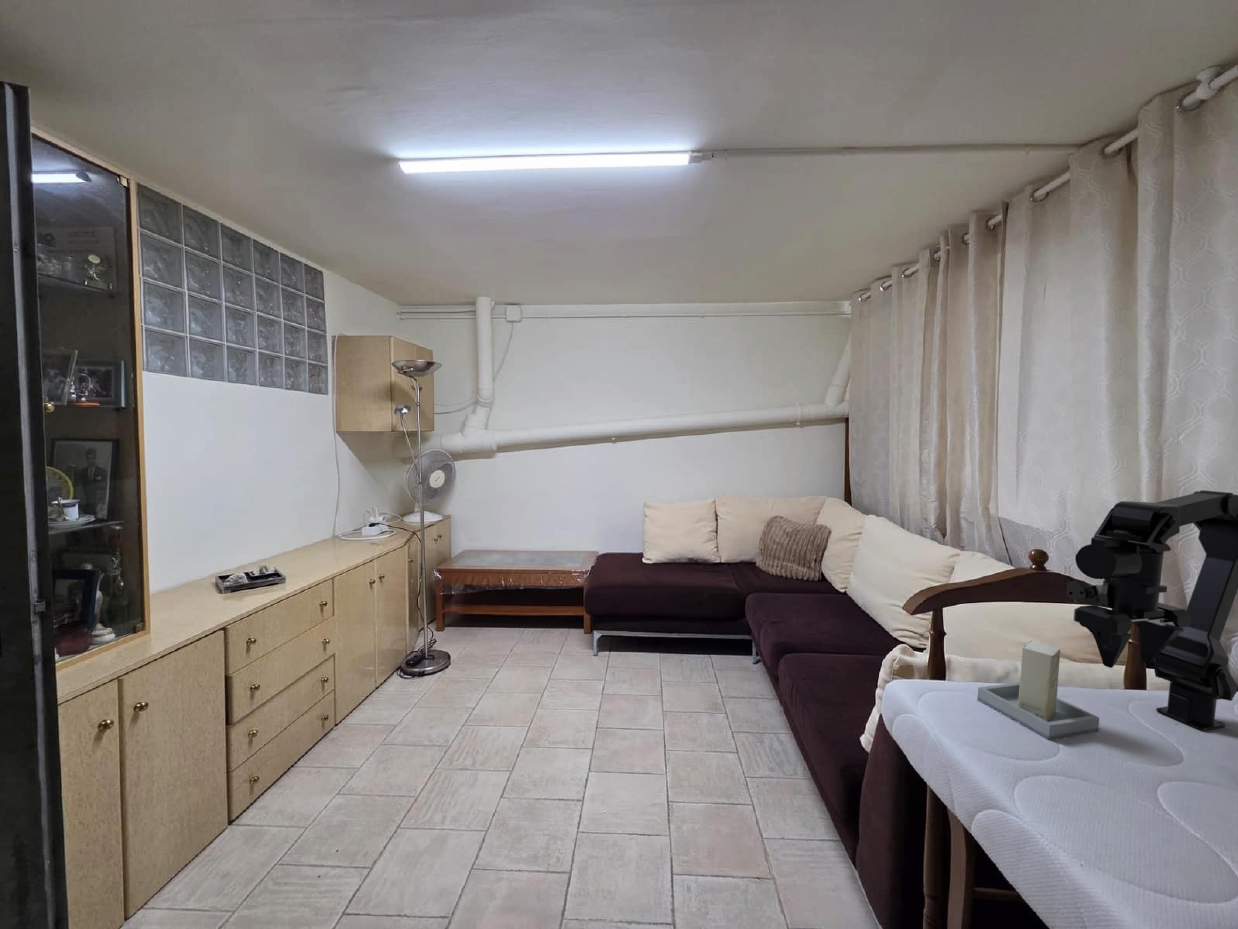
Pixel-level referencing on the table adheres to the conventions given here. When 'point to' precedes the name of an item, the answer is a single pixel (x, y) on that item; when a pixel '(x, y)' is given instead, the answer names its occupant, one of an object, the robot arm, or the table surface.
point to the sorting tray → (1059, 725)
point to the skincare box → (1039, 679)
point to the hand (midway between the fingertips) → (1126, 664)
